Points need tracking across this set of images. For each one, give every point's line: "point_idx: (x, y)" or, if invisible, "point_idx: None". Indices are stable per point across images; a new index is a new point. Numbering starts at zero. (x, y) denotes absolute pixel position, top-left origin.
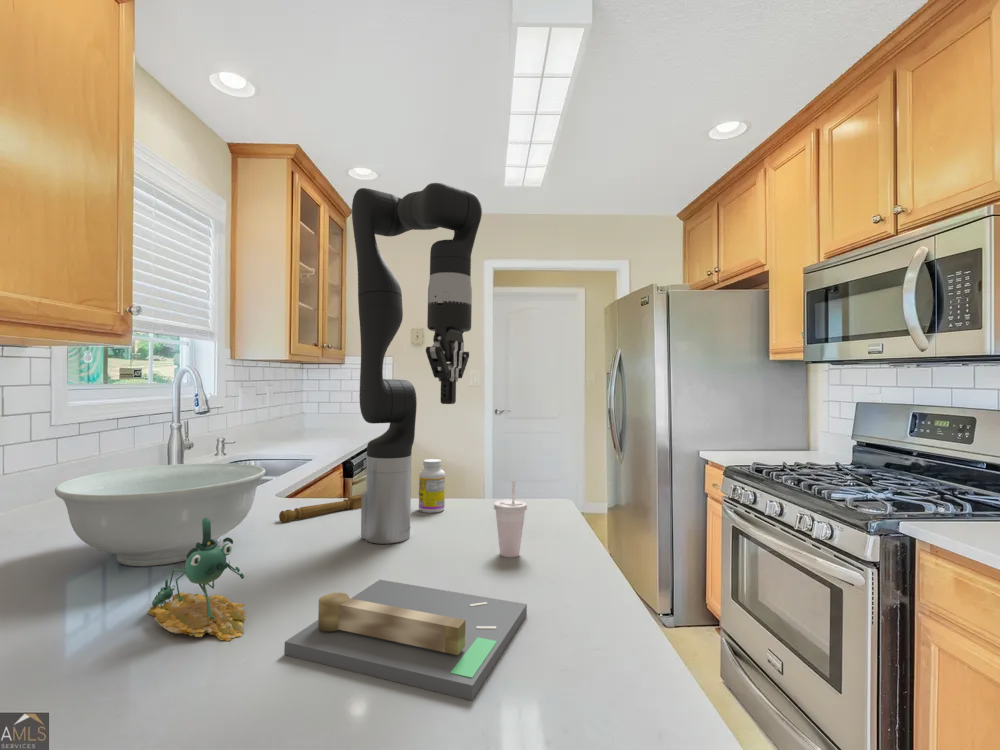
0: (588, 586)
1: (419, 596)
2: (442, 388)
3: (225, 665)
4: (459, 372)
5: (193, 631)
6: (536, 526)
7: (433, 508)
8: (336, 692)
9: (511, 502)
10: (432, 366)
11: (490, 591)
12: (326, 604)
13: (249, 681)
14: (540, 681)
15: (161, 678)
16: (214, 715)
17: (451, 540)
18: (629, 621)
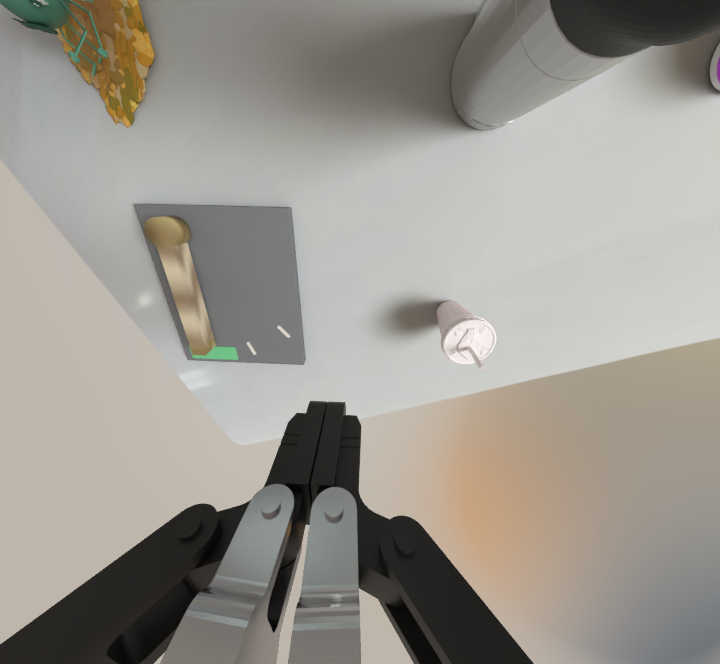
0: (379, 392)
1: (272, 275)
2: (276, 463)
3: (98, 162)
4: (382, 603)
5: (78, 67)
6: (581, 316)
7: (718, 71)
8: (144, 278)
9: (469, 345)
10: (81, 597)
11: (336, 322)
12: (146, 234)
13: (104, 205)
14: (231, 382)
15: (46, 118)
16: (71, 215)
17: (494, 213)
18: None
